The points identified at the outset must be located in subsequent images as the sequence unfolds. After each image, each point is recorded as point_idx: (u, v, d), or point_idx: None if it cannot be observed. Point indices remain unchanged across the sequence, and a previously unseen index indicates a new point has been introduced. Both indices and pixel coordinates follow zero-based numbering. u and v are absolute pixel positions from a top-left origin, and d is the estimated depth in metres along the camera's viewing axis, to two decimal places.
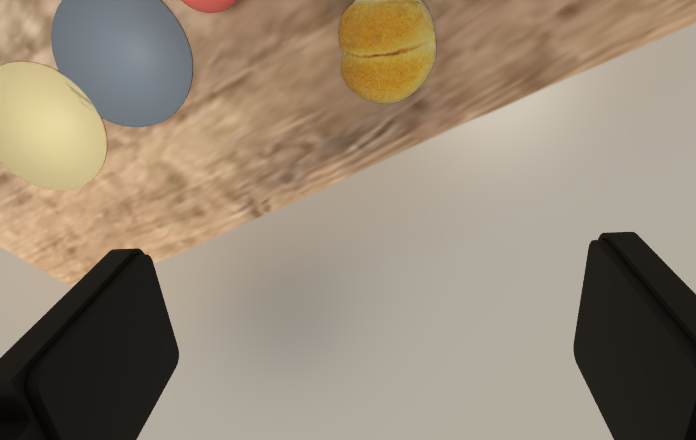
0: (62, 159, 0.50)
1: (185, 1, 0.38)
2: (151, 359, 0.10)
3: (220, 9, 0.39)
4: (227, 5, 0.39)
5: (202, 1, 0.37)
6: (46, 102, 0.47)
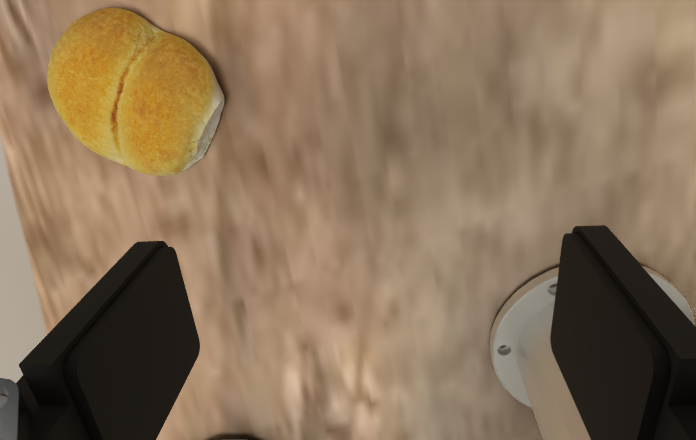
0: None
1: None
2: (175, 349, 0.10)
3: None
4: None
5: None
6: None
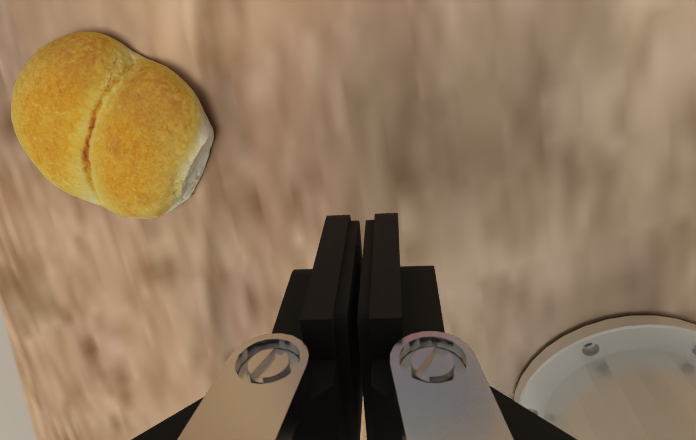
0: None
1: None
2: None
3: None
4: None
5: None
6: None
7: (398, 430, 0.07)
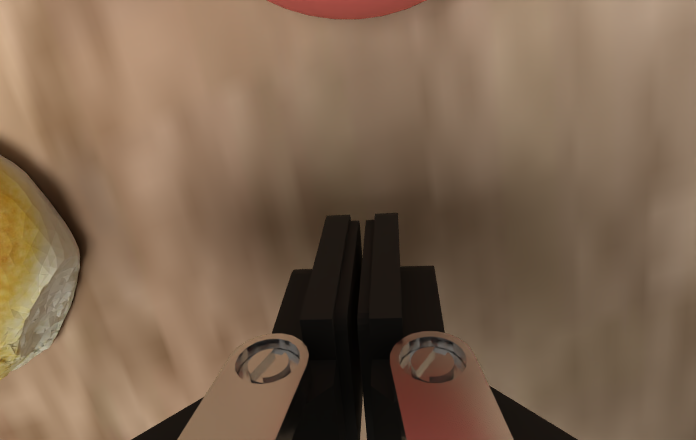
0: None
1: None
2: None
3: None
4: None
5: None
6: None
7: (398, 430, 0.07)
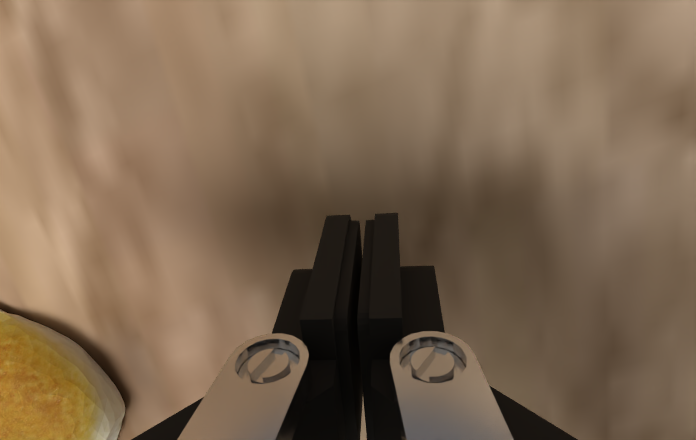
0: None
1: None
2: None
3: None
4: None
5: None
6: None
7: (398, 430, 0.07)
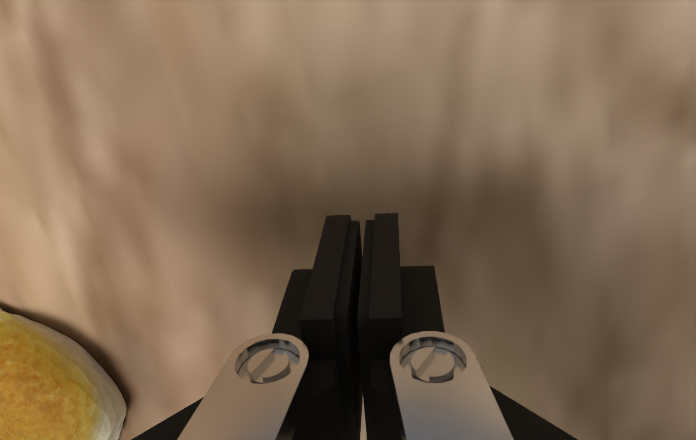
0: None
1: None
2: None
3: None
4: None
5: None
6: None
7: (398, 430, 0.07)
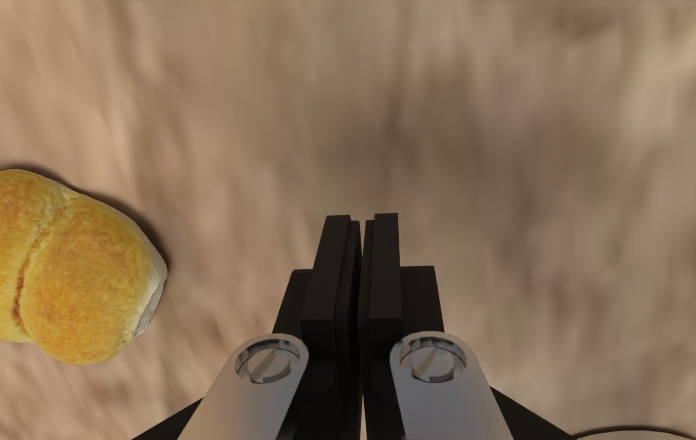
0: None
1: None
2: None
3: None
4: None
5: None
6: None
7: (398, 430, 0.07)
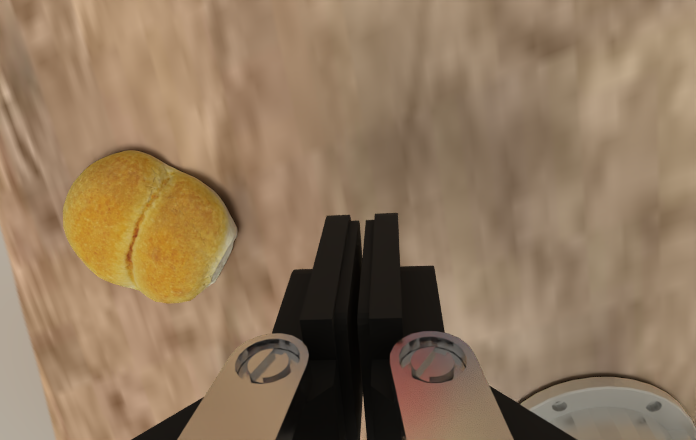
0: None
1: None
2: None
3: None
4: None
5: None
6: None
7: (398, 430, 0.07)
